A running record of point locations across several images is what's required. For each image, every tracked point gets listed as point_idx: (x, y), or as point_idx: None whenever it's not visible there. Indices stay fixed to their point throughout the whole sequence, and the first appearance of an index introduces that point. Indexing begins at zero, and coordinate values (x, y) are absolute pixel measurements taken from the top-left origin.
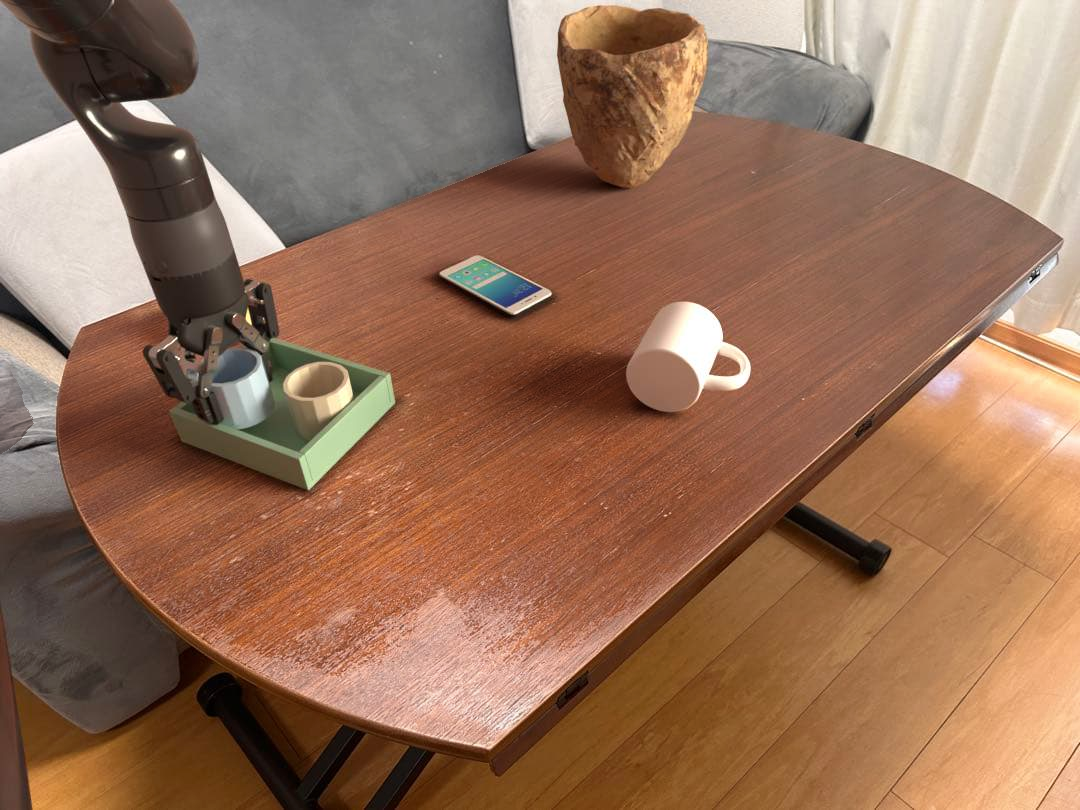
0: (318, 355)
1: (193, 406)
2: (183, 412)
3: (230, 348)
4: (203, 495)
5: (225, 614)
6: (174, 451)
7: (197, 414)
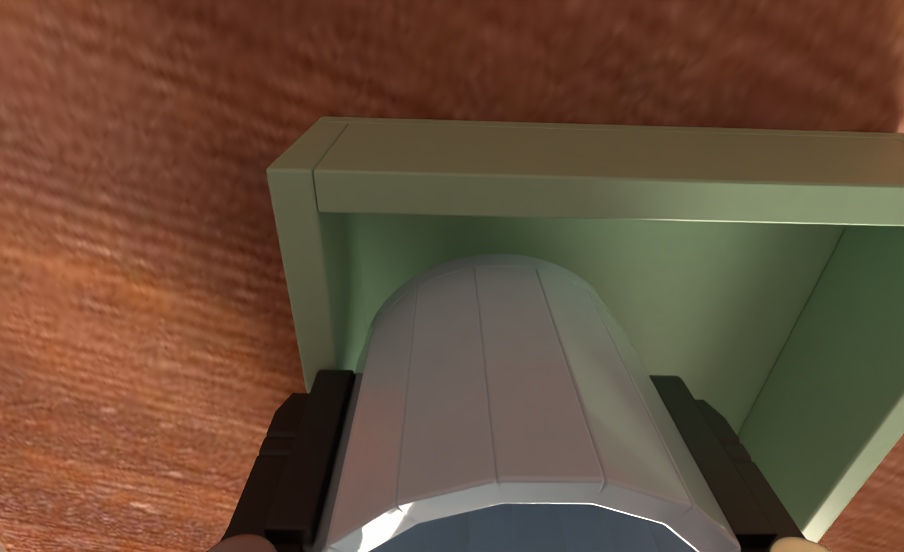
0: (855, 466)
1: (254, 466)
2: (304, 253)
3: (720, 546)
4: (204, 356)
5: (62, 549)
6: (267, 133)
7: (270, 430)
